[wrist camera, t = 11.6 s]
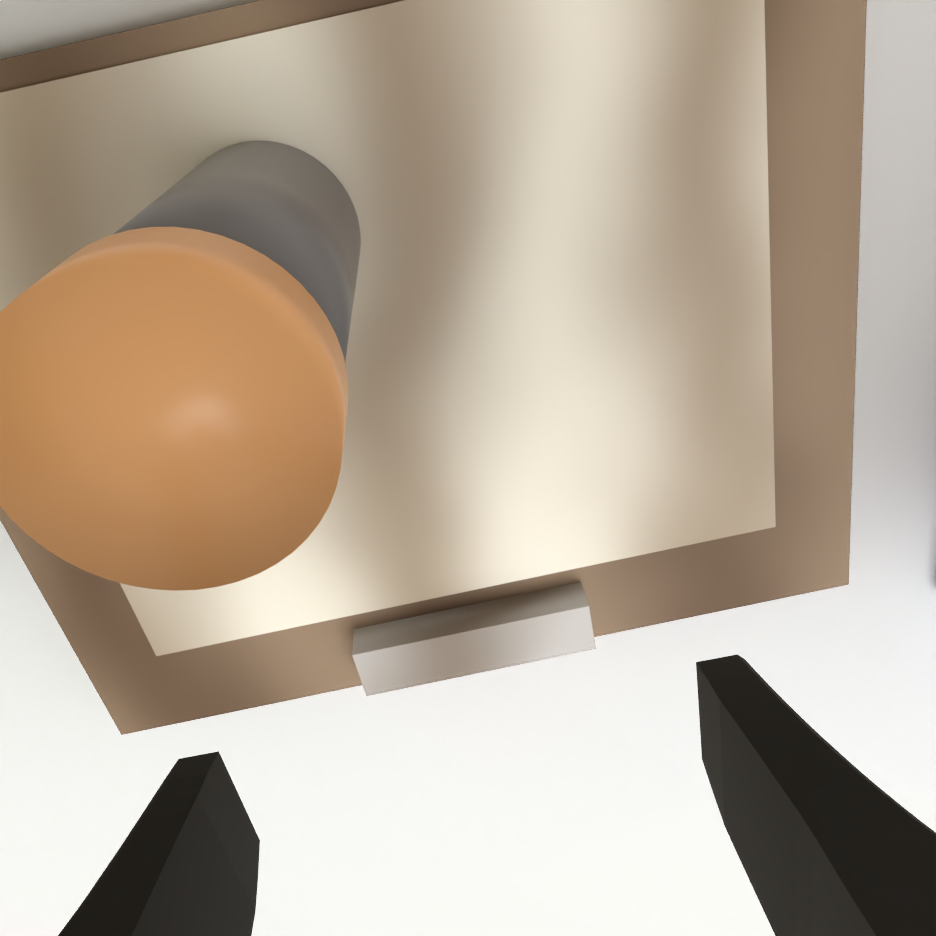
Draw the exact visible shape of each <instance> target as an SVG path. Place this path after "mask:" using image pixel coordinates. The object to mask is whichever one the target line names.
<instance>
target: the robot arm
mask: <svg viewBox="0 0 936 936" xmlns="http://www.w3.org/2000/svg"><path fill="white" fill-rule="evenodd" d="M696 666H697V682H698V698H699V715H700V731H701V747H702V760H703V763H704V766H705V769H706V772H707V775H708V778H709V781H710V784H711V787H712V790H713V793H714V796H715V799H716V802H717V805H718V808H719V810H720V813H721V816H722V819H723V822H724V825H725V827H726V829H727V832H728V834H729V836H730V838H731V841H732V843H733V845H734V847H735V849H736V851H737V854H738V856H739V858H740V860H741V862H742V864H743V867H744V869H745V871H746V873H747V875H748V877H749V880H750V882H751V884H752V886H753V888H754V890H755V893H756V895H757V897H758V899H759V901H760V903H761V905H762V908H763V910H764V912H765V914H766V916H767V918H768V920H769V923H770V925H771V927H772V929H773V931H774V933H775V935H776V936H936V833H935V832H934V831H933V830H931V829H930V828H929V827H927V826H926V825H925V824H924V823H922V822H921V821H920V820H918V819H917V818H916V817H915V816H913V815H912V814H911V813H909V812H908V811H907V810H906V809H904V808H903V807H902V806H901V805H900V804H898V803H897V802H896V801H895V800H893V799H892V798H891V797H890V796H889V795H887V794H886V793H885V792H884V791H882V790H881V789H880V788H879V787H878V786H876V785H875V784H874V783H873V782H872V781H870V780H869V779H868V778H867V777H866V776H865V775H864V774H862V773H861V772H860V771H859V770H858V769H857V768H855V767H854V766H853V765H852V764H851V763H850V762H849V761H848V760H846V759H845V758H844V757H843V756H842V755H841V754H840V753H839V752H838V751H837V750H835V749H834V748H833V747H832V746H831V745H830V744H829V743H828V742H827V741H825V740H824V739H823V738H822V737H821V736H820V735H819V734H818V733H817V732H816V731H815V730H814V729H813V728H811V727H810V726H809V725H808V724H807V723H806V722H805V721H804V720H803V719H802V718H801V717H800V716H799V715H798V714H797V713H796V712H795V711H794V710H793V709H792V708H791V707H790V706H789V705H788V704H787V703H786V702H785V701H784V700H783V699H782V698H781V697H780V696H779V695H778V694H777V693H776V692H775V691H774V690H773V689H772V688H771V687H770V686H769V685H768V684H767V683H766V682H765V681H764V680H763V679H762V677H761V676H760V675H759V674H758V673H757V672H756V671H755V670H754V669H753V668H752V667H751V666H750V665H749V663H748V662H747V661H746V660H745V659H743V658H742V657H740V656H739V655H733V656H728V657H722V658H717V659H712V660H706V661H701V662H696ZM259 843H260V840H259V838H258V836H257V834H256V832H255V829H254V827H253V825H252V823H251V821H250V819H249V816H248V814H247V812H246V810H245V808H244V806H243V803H242V801H241V799H240V797H239V795H238V793H237V790H236V788H235V786H234V784H233V782H232V780H231V777H230V775H229V773H228V771H227V769H226V767H225V764H224V762H223V760H222V758H221V756H220V754H219V752H214V753H209V754H203V755H198V756H193V757H187V758H182V759H179V760H178V761H177V763H176V764H175V765H174V767H173V768H172V770H171V771H170V773H169V774H168V776H167V777H166V779H165V780H164V782H163V783H162V785H161V786H160V788H159V789H158V791H157V792H156V794H155V795H154V797H153V798H152V800H151V802H150V803H149V805H148V806H147V808H146V809H145V811H144V812H143V814H142V815H141V817H140V818H139V820H138V821H137V823H136V825H135V826H134V828H133V829H132V831H131V832H130V834H129V835H128V837H127V838H126V840H125V841H124V843H123V844H122V846H121V847H120V849H119V850H118V852H117V853H116V855H115V856H114V858H113V859H112V860H111V862H110V863H109V865H108V866H107V868H106V869H105V871H104V872H103V874H102V875H101V877H100V878H99V879H98V881H97V882H96V884H95V885H94V887H93V888H92V890H91V891H90V893H89V894H88V896H87V897H86V898H85V900H84V901H83V903H82V904H81V905H80V907H79V908H78V910H77V911H76V912H75V914H74V915H73V916H72V918H71V919H70V920H69V922H68V923H67V925H66V926H65V927H64V929H63V930H62V931H61V933H60V934H59V935H58V936H251V933H252V927H253V921H254V916H255V907H256V894H257V881H258V863H259Z"/></svg>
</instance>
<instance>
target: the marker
mask: <svg viewBox="0 0 936 936" xmlns="http://www.w3.org/2000/svg"><path fill="white" fill-rule="evenodd" d="M360 246H361V237H360V227H359V221H358V217H357V214H356V211H355V207H354V205H353V203H352V201H351V199H350V196H349V194H348V193H347V191H346V190H345V188H344V186H343V185H342V183H341V182H340V181H339V180H338V179H337V177H336V176H335V175H334V174H333V173H332V172H331V171H330V170H329V169H328V168H327V167H326V166H325V165H324V164H322V163H321V162H320V161H318V160H317V159H316V158H314V157H313V156H311V155H309V154H308V153H306V152H304V151H302V150H300V149H297V148H295V147H292V146H290V145H286V144H282V143H279V142H272V141H247V142H240V143H237V144H233V145H230V146H227V147H225V148H223V149H221V150H219V151H217V152H215V153H214V154H212V155H211V156H209V157H208V158H206V159H205V160H204V161H203V162H201V163H200V164H199V165H198V166H196V167H195V168H194V169H193V170H191V171H190V172H189V173H188V174H187V175H185V176H184V177H183V178H182V179H180V180H179V181H178V182H177V183H175V184H174V185H173V186H172V187H171V188H169V189H168V190H167V191H166V192H164V193H163V194H162V195H161V196H159V197H158V198H157V199H156V200H155V201H153V202H152V203H151V204H150V205H148V206H147V207H146V208H145V209H143V210H142V211H141V212H140V213H139V214H137V215H136V216H135V217H134V218H132V219H131V220H130V221H129V222H127V223H126V224H125V225H124V226H123V227H121V228H120V229H119V230H118V231H116V232H115V233H114V234H113V235H110V236H106V237H104V238H102V239H100V240H98V241H95V242H93V243H91V244H89V245H87V246H85V247H84V248H82V249H81V250H79V251H77V252H76V253H74V254H73V255H71V256H70V257H68V258H67V259H66V260H64V261H63V262H62V263H61V264H59V265H58V266H57V267H55V268H54V269H53V270H52V271H50V272H49V273H48V274H46V275H45V276H44V277H42V278H41V279H40V280H39V281H37V282H36V283H35V284H33V285H32V286H31V287H30V288H28V289H27V290H26V291H24V292H23V293H22V294H20V295H19V296H18V297H17V298H15V299H14V300H13V301H12V302H11V303H10V304H9V305H8V306H7V307H5V308H4V309H3V310H2V311H1V312H0V507H1V508H2V509H3V510H4V511H5V513H6V514H7V515H8V516H9V517H10V519H12V520H13V521H14V522H15V523H16V524H17V525H18V526H19V527H20V528H21V529H22V530H23V531H24V532H25V533H26V534H27V535H28V536H30V537H31V538H32V539H33V540H35V541H36V542H37V543H39V544H40V545H41V546H42V547H44V548H45V549H47V550H48V551H50V552H51V553H53V554H55V555H56V556H58V557H59V558H61V559H63V560H64V561H66V562H68V563H70V564H72V565H74V566H76V567H78V568H80V569H82V570H84V571H86V572H89V573H92V574H94V575H97V576H100V577H102V578H105V579H108V580H111V581H115V582H119V583H122V584H126V585H130V586H136V587H142V588H148V589H156V590H172V591H181V590H200V589H206V588H213V587H219V586H223V585H227V584H231V583H235V582H238V581H241V580H244V579H246V578H249V577H251V576H254V575H257V574H259V573H261V572H263V571H265V570H266V569H268V568H270V567H272V566H274V565H276V564H277V563H279V562H280V561H281V560H283V559H284V558H286V557H287V556H288V555H290V554H291V553H293V552H294V551H295V550H296V549H297V548H298V547H299V546H300V545H301V544H302V543H303V542H304V541H305V540H306V539H307V538H308V537H309V536H310V534H311V533H312V532H313V531H314V529H315V528H316V527H317V526H318V524H319V523H320V521H321V520H322V518H323V516H324V514H325V513H326V511H327V509H328V508H329V505H330V503H331V500H332V498H333V495H334V493H335V490H336V487H337V483H338V478H339V474H340V470H341V461H342V452H343V443H344V434H345V426H346V417H347V406H348V394H349V392H348V377H347V370H346V365H345V361H346V354H347V347H348V339H349V331H350V324H351V316H352V309H353V301H354V294H355V286H356V279H357V271H358V264H359V256H360Z"/></svg>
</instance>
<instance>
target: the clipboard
mask: <svg viewBox="0 0 936 936" xmlns="http://www.w3.org/2000/svg"><path fill="white" fill-rule="evenodd" d="M866 6H867V0H259V1H255V2H250V3H246V4H242V5H237V6H233V7H229V8H224V9H220V10H216V11H211V12H207V13H202V14H198V15H194V16H189V17H185V18H181V19H176V20H172V21H168V22H163V23H159V24H155V25H150V26H146V27H141V28H137V29H133V30H128V31H124V32H120V33H115V34H111V35H107V36H102V37H98V38H94V39H89V40H85V41H81V42H76V43H72V44H67V45H63V46H59V47H54V48H50V49H46V50H41V51H37V52H33V53H28V54H24V55H20V56H15V57H11V58H6V59H2V60H0V312H1V311H2V310H3V309H4V308H5V307H7V306H8V305H9V304H10V303H11V302H12V301H13V300H14V299H15V298H17V297H18V296H19V295H20V294H22V293H23V292H24V291H26V290H27V289H28V288H30V287H31V286H32V285H33V284H35V283H36V282H37V281H39V280H40V279H41V278H42V277H44V276H45V275H46V274H48V273H49V272H50V271H52V270H53V269H54V268H55V267H57V266H58V265H59V264H61V263H62V262H63V261H64V260H66V259H67V258H68V257H70V256H71V255H73V254H74V253H76V252H77V251H79V250H81V249H82V248H84V247H85V246H87V245H89V244H91V243H93V242H95V241H98V240H100V239H102V238H104V237H106V236H110V235H113V234H114V233H115V232H116V231H118V230H119V229H120V228H121V227H123V226H124V225H125V224H126V223H127V222H129V221H130V220H131V219H132V218H134V217H135V216H136V215H137V214H139V213H140V212H141V211H142V210H143V209H145V208H146V207H147V206H148V205H150V204H151V203H152V202H153V201H155V200H156V199H157V198H158V197H159V196H161V195H162V194H163V193H164V192H166V191H167V190H168V189H169V188H171V187H172V186H173V185H174V184H175V183H177V182H178V181H179V180H180V179H182V178H183V177H184V176H185V175H187V174H188V173H189V172H190V171H191V170H193V169H194V168H195V167H196V166H198V165H199V164H200V163H201V162H203V161H204V160H205V159H206V158H208V157H209V156H211V155H212V154H214V153H215V152H217V151H219V150H221V149H223V148H225V147H227V146H230V145H233V144H237V143H240V142H247V141H272V142H279V143H282V144H286V145H290V146H292V147H295V148H297V149H300V150H302V151H304V152H306V153H308V154H309V155H311V156H313V157H314V158H316V159H317V160H318V161H320V162H321V163H322V164H324V165H325V166H326V167H327V168H328V169H329V170H330V171H331V172H332V173H333V174H334V175H335V176H336V177H337V179H338V180H339V181H340V182H341V183H342V185H343V186H344V188H345V190H346V191H347V193H348V194H349V196H350V199H351V201H352V203H353V205H354V207H355V211H356V214H357V217H358V221H359V227H360V237H361V246H360V256H359V264H358V271H357V279H356V286H355V294H354V301H353V309H352V316H351V324H350V331H349V339H348V347H347V354H346V361H345V365H346V370H347V377H348V392H349V394H348V406H347V417H346V426H345V434H344V443H343V452H342V461H341V470H340V474H339V478H338V483H337V487H336V490H335V493H334V495H333V498H332V500H331V503H330V505H329V508H328V509H327V511H326V513H325V514H324V516H323V518H322V520H321V521H320V523H319V524H318V526H317V527H316V528H315V529H314V531H313V532H312V533H311V534H310V536H309V537H308V538H307V539H306V540H305V541H304V542H303V543H302V544H301V545H300V546H299V547H298V548H297V549H296V550H295V551H294V552H293V553H291V554H290V555H288V556H287V557H286V558H284V559H283V560H281V561H280V562H279V563H277V564H276V565H274V566H272V567H270V568H268V569H266V570H265V571H263V572H261V573H259V574H257V575H254V576H251V577H249V578H246V579H244V580H241V581H238V582H235V583H231V584H227V585H223V586H219V587H213V588H206V589H200V590H181V591H172V590H156V589H148V588H142V587H136V586H130V585H126V584H122V583H119V582H115V581H111V580H108V579H105V578H102V577H100V576H97V575H94V574H92V573H89V572H86V571H84V570H82V569H80V568H78V567H76V566H74V565H72V564H70V563H68V562H66V561H64V560H63V559H61V558H59V557H58V556H56V555H55V554H53V553H51V552H50V551H48V550H47V549H45V548H44V547H42V546H41V545H40V544H39V543H37V542H36V541H35V540H33V539H32V538H31V537H30V536H28V535H27V534H26V533H25V532H24V531H23V530H22V529H21V528H20V527H19V526H18V525H17V524H16V523H15V522H14V521H13V520H12V519H10V517H9V516H8V515H7V514H6V513H5V511H4V510H3V509H2V508H1V507H0V520H1V522H2V524H3V525H4V527H5V529H6V531H7V532H8V534H9V536H10V538H11V540H12V541H13V543H14V545H15V547H16V548H17V550H18V552H19V554H20V555H21V557H22V559H23V561H24V563H25V564H26V566H27V568H28V570H29V571H30V573H31V575H32V577H33V579H34V580H35V582H36V584H37V586H38V587H39V589H40V591H41V593H42V595H43V596H44V598H45V600H46V602H47V603H48V605H49V607H50V609H51V610H52V612H53V614H54V616H55V618H56V619H57V621H58V623H59V625H60V626H61V628H62V630H63V632H64V634H65V635H66V637H67V639H68V641H69V642H70V644H71V646H72V648H73V650H74V651H75V653H76V655H77V657H78V658H79V660H80V662H81V664H82V665H83V667H84V669H85V671H86V673H87V674H88V676H89V678H90V680H91V681H92V683H93V685H94V687H95V689H96V690H97V692H98V694H99V696H100V697H101V699H102V701H103V703H104V704H105V706H106V708H107V710H108V712H109V713H110V715H111V717H112V719H113V720H114V722H115V724H116V726H117V728H118V729H119V731H120V733H121V735H123V734H127V733H132V732H137V731H142V730H147V729H152V728H156V727H161V726H166V725H171V724H176V723H181V722H185V721H190V720H195V719H200V718H205V717H210V716H214V715H219V714H224V713H229V712H234V711H239V710H243V709H248V708H253V707H258V706H263V705H268V704H272V703H277V702H282V701H287V700H292V699H297V698H301V697H306V696H311V695H316V694H321V693H326V692H330V691H335V690H340V689H345V688H350V687H355V686H359V685H363V688H364V691H365V693H366V696H369V695H374V694H378V693H383V692H388V691H393V690H398V689H403V688H408V687H412V686H417V685H422V684H427V683H432V682H437V681H441V680H446V679H451V678H456V677H461V676H466V675H470V674H475V673H480V672H485V671H490V670H495V669H500V668H504V667H509V666H514V665H519V664H524V663H529V662H533V661H538V660H543V659H548V658H553V657H558V656H562V655H567V654H572V653H577V652H582V651H587V650H592V649H596V646H595V640H594V637H596V636H601V635H606V634H611V633H616V632H620V631H625V630H630V629H635V628H640V627H645V626H649V625H654V624H659V623H664V622H669V621H674V620H678V619H683V618H688V617H693V616H698V615H703V614H707V613H712V612H717V611H722V610H727V609H732V608H736V607H741V606H746V605H751V604H756V603H761V602H765V601H770V600H775V599H780V598H785V597H790V596H794V595H799V594H804V593H809V592H814V591H819V590H823V589H828V588H833V587H838V586H843V585H848V584H849V553H850V521H851V489H852V457H853V424H854V392H855V360H856V328H857V296H858V263H859V231H860V199H861V167H862V135H863V103H864V70H865V38H866Z"/></svg>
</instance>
